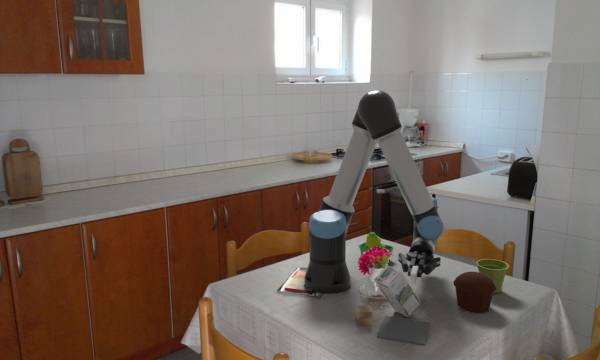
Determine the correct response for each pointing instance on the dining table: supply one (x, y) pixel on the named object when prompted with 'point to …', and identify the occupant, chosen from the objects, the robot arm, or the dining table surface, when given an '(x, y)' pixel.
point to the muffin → (474, 292)
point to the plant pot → (493, 271)
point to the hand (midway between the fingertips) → (413, 278)
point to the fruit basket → (373, 243)
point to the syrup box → (397, 291)
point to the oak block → (363, 315)
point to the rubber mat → (403, 330)
